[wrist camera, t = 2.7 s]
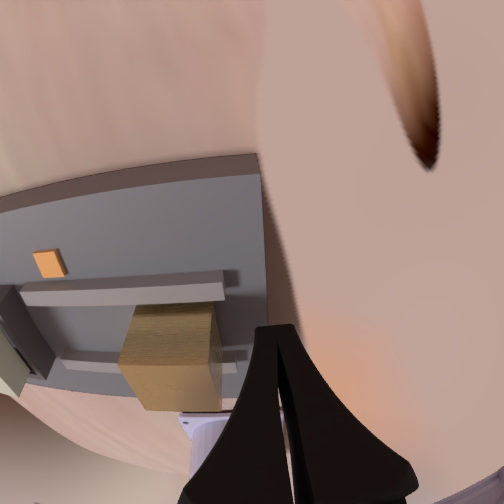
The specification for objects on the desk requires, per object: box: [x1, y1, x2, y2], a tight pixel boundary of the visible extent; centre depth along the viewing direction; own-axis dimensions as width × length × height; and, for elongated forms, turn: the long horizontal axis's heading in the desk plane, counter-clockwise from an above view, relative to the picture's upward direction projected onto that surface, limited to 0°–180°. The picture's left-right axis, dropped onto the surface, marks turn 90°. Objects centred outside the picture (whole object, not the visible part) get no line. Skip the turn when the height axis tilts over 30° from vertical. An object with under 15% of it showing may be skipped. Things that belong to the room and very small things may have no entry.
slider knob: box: [117, 301, 223, 412], centre depth 11 cm, size 3×3×3 cm
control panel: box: [0, 154, 268, 398], centre depth 13 cm, size 12×23×4 cm, turn 94°
